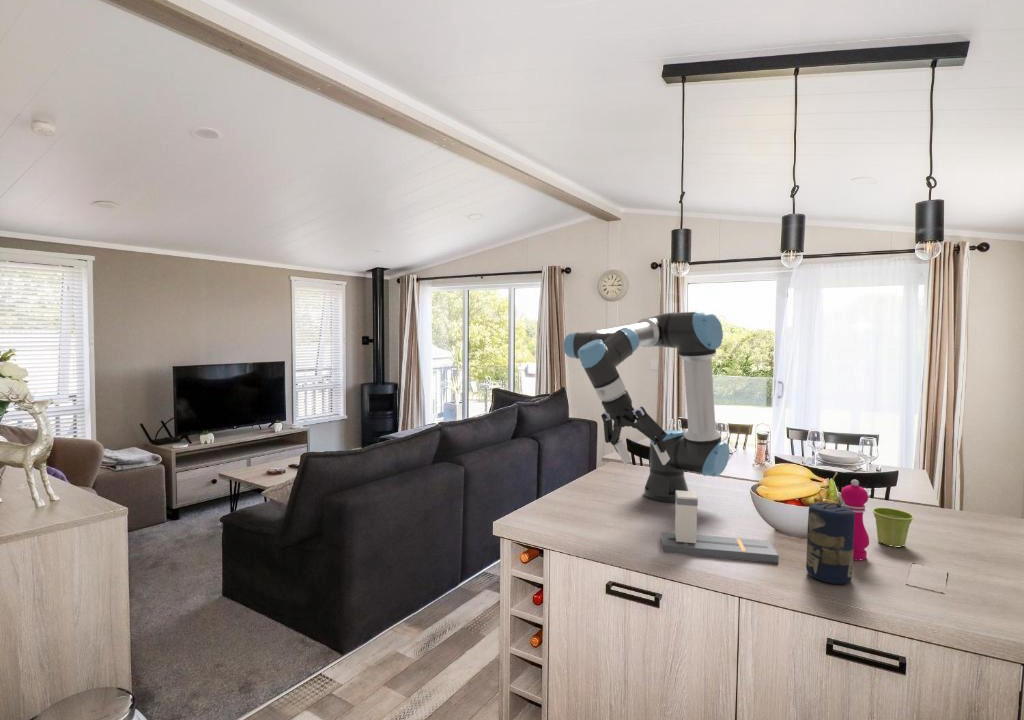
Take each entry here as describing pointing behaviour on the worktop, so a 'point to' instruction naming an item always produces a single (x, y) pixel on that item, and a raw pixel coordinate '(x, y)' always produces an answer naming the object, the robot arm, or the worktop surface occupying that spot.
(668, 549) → the fader console
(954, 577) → the worktop surface
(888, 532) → the plant pot
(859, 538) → the pepper mill
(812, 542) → the canister
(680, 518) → the fader knob
